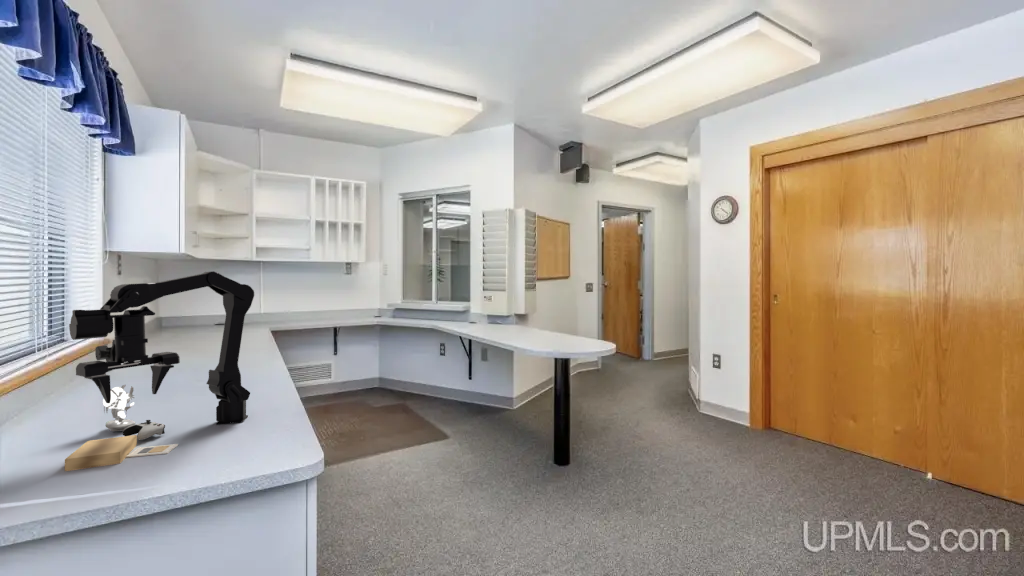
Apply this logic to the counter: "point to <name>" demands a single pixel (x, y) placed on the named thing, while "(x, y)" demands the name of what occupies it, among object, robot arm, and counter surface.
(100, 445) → the base brick
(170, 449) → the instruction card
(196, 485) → the counter surface
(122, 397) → the figurine
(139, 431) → the game controller
